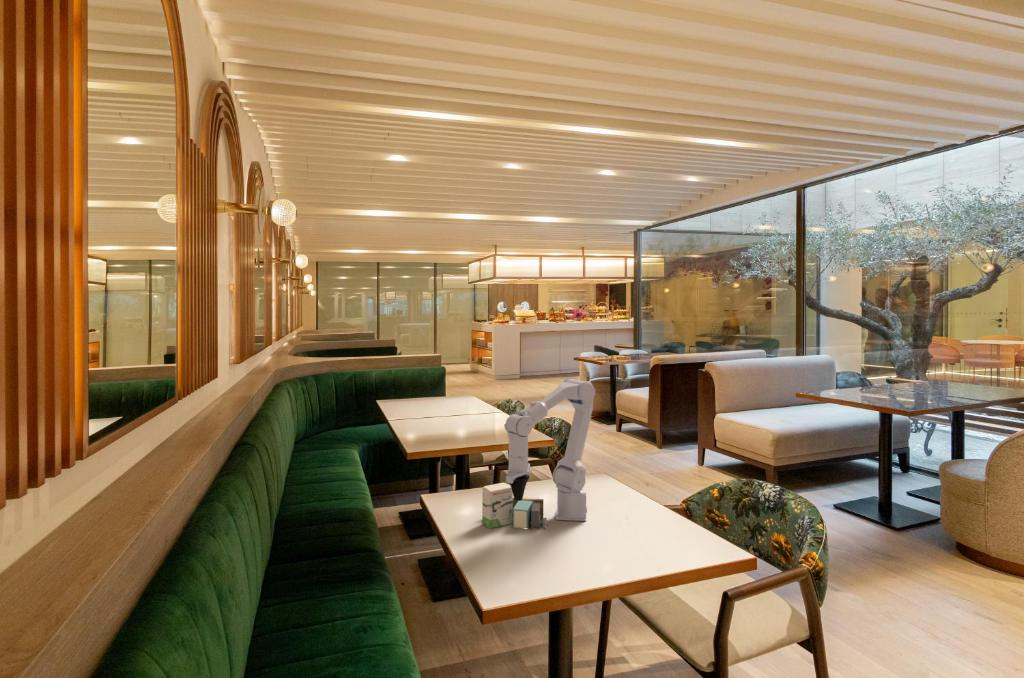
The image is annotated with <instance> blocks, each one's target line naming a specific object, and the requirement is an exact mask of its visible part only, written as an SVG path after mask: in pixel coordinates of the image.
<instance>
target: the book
mask: <svg viewBox="0 0 1024 678" xmlns="http://www.w3.org/2000/svg"><path fill="white" fill-rule="evenodd" d="M532 504H533V501H524V500H521V501H518V502H517V504H516V505H515V507H514V508H513V523H512V528H513V527H514V528H513V529H519V528H528V529H529V527H530V526H531V524H530V523H531V510H532ZM529 525H530V526H529Z"/></svg>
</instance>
